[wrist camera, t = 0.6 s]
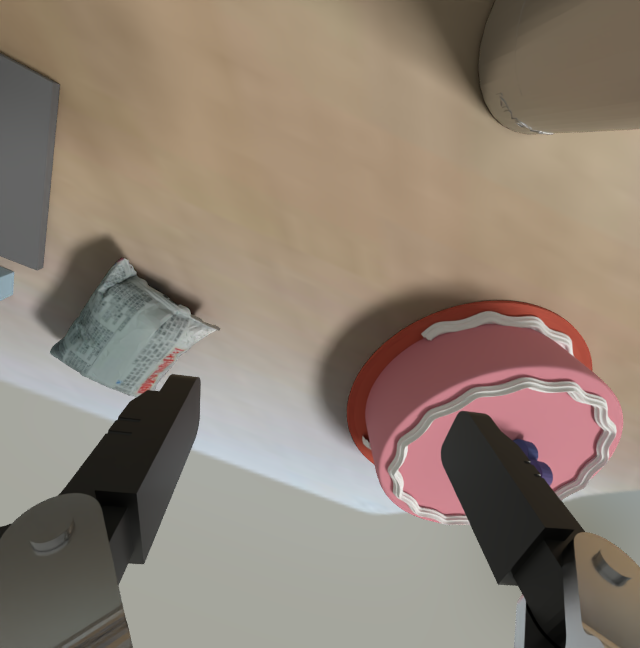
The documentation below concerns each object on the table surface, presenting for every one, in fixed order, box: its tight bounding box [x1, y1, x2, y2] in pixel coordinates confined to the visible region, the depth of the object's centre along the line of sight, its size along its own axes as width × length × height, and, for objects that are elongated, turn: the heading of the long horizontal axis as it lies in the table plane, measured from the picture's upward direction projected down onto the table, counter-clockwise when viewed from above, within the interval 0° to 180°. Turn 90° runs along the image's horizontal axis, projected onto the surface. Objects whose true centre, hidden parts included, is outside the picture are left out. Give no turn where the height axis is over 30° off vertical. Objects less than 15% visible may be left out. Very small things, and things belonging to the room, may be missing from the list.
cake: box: [347, 301, 623, 525], centre depth 29 cm, size 25×25×11 cm
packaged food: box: [50, 258, 220, 397], centre depth 25 cm, size 9×12×5 cm
